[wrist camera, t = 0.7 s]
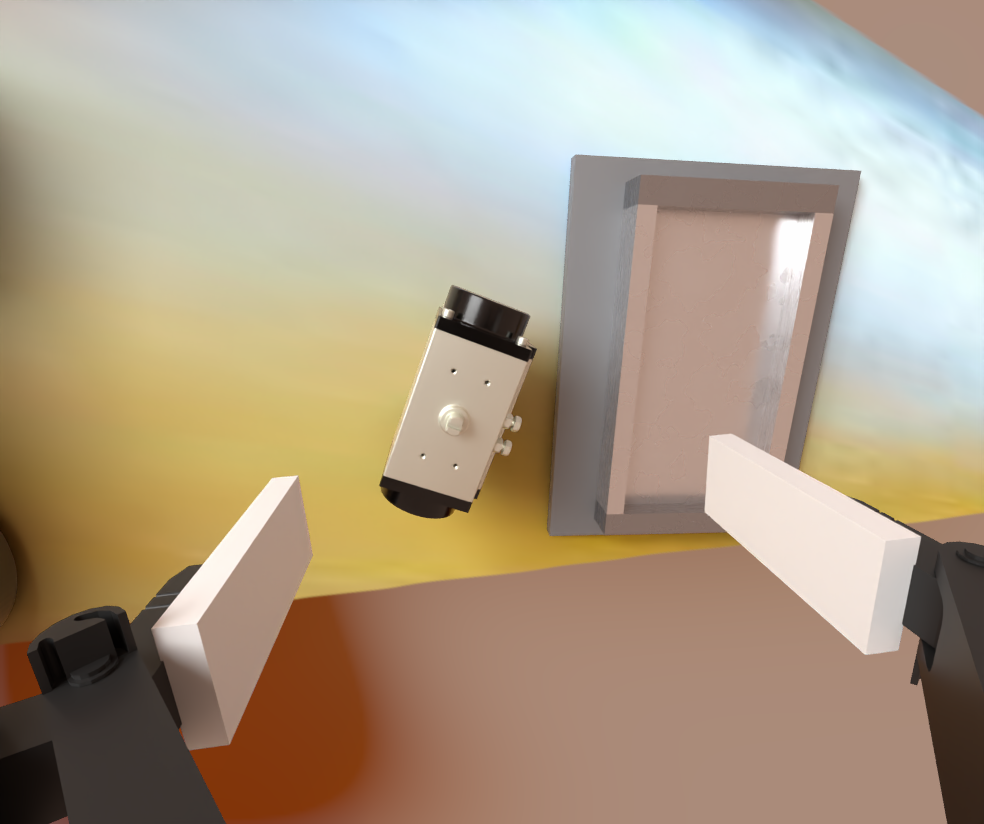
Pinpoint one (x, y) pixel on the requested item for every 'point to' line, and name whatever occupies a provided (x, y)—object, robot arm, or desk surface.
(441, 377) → the pneumatic valve
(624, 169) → the mounting board
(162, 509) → the desk surface
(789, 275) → the shallow rectangular tray
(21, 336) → the desk surface
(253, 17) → the desk surface
